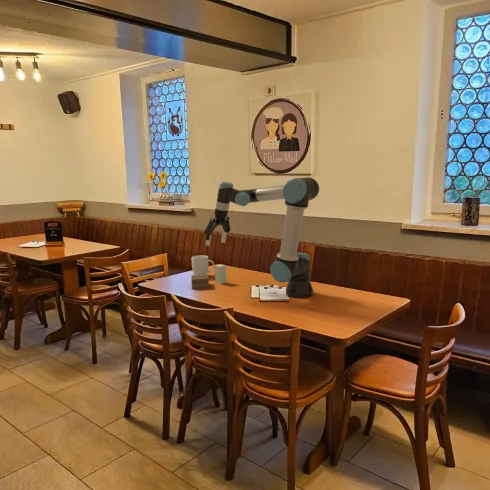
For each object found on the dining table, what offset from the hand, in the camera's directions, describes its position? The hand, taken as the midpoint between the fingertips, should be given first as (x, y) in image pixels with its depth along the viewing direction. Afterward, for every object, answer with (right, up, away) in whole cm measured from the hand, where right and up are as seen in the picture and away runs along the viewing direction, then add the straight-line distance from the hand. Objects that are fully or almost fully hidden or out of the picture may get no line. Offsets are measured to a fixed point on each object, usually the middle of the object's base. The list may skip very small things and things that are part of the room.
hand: (215, 243), depth 253 cm
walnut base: (-10, -26, +9) cm, 29 cm away
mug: (-11, -22, +35) cm, 43 cm away
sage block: (+3, -24, +16) cm, 29 cm away
